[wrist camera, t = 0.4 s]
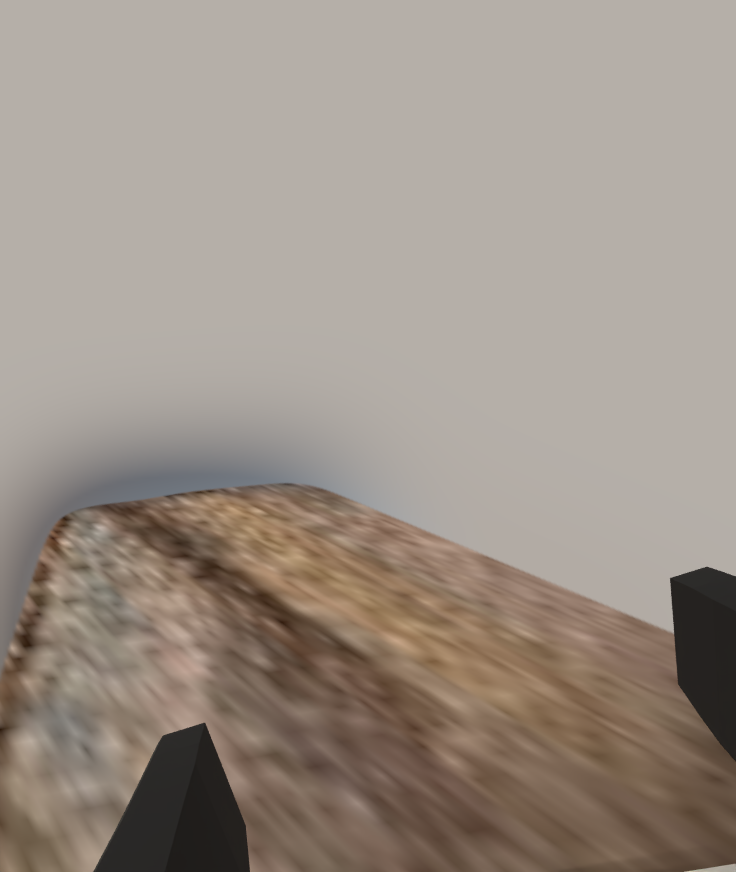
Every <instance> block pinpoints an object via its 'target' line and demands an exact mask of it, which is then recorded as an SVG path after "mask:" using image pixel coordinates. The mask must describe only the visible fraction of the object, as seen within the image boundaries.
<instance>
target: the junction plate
mask: <svg viewBox="0 0 736 872" xmlns="http://www.w3.org/2000/svg"><path fill="white" fill-rule="evenodd" d="M686 872H736V864H730V865H724V866H718V867H712V868H705V869H699V870H693V871H686Z"/></svg>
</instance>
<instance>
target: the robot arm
mask: <svg viewBox="0 0 736 872" xmlns="http://www.w3.org/2000/svg"><path fill="white" fill-rule="evenodd" d="M670 583H671V596H672V609H673V622H674V636H675V649H676V662H677V675H678V685H679V686H680V688H681V689H682V690H683V692H684V693H685V695H686V696H687V698H688V699H689V701H690V702H691V704H692V705H693V706H694V708H695V709H696V711H697V712H698V714H699V715H700V717H701V718H702V719H703V721H704V722H705V723H706V725H707V726H708V728H709V729H710V730H711V732H712V733H713V734H714V736H715V737H716V739H717V740H718V741H719V743H720V744H721V745H722V746H723V747H724V749H725V750H726V751H727V752H728V753H729V754H730V755H731V757H732V758H733V759H734V760H735V761H736V576H732V575H730V574H727V573H724V572H721V571H718V570H715V569H712V568H709V567H705V568H701V569H698V570H695V571H692V572H689V573H685V574H682V575H679V576H676V577H673V578H670ZM94 872H250V867H249V856H248V846H247V835H246V825H245V823H244V820H243V818H242V815H241V813H240V810H239V808H238V805H237V802H236V800H235V797H234V795H233V792H232V790H231V787H230V785H229V782H228V780H227V777H226V775H225V772H224V769H223V767H222V764H221V762H220V759H219V757H218V754H217V752H216V749H215V747H214V744H213V742H212V739H211V736H210V734H209V731H208V729H207V726H206V724H205V723H202V724H199V725H196V726H192V727H189V728H186V729H183V730H180V731H176V732H173V733H170V734H167V735H163V736H162V738H161V740H160V741H159V743H158V745H157V747H156V749H155V751H154V753H153V755H152V757H151V759H150V761H149V763H148V765H147V767H146V769H145V771H144V773H143V775H142V777H141V780H140V782H139V784H138V786H137V788H136V790H135V792H134V794H133V796H132V798H131V800H130V802H129V804H128V806H127V808H126V810H125V812H124V814H123V816H122V818H121V820H120V822H119V824H118V826H117V828H116V830H115V832H114V834H113V836H112V837H111V839H110V841H109V843H108V845H107V847H106V849H105V851H104V853H103V855H102V856H101V858H100V860H99V862H98V864H97V866H96V868H95V870H94Z"/></svg>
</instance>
